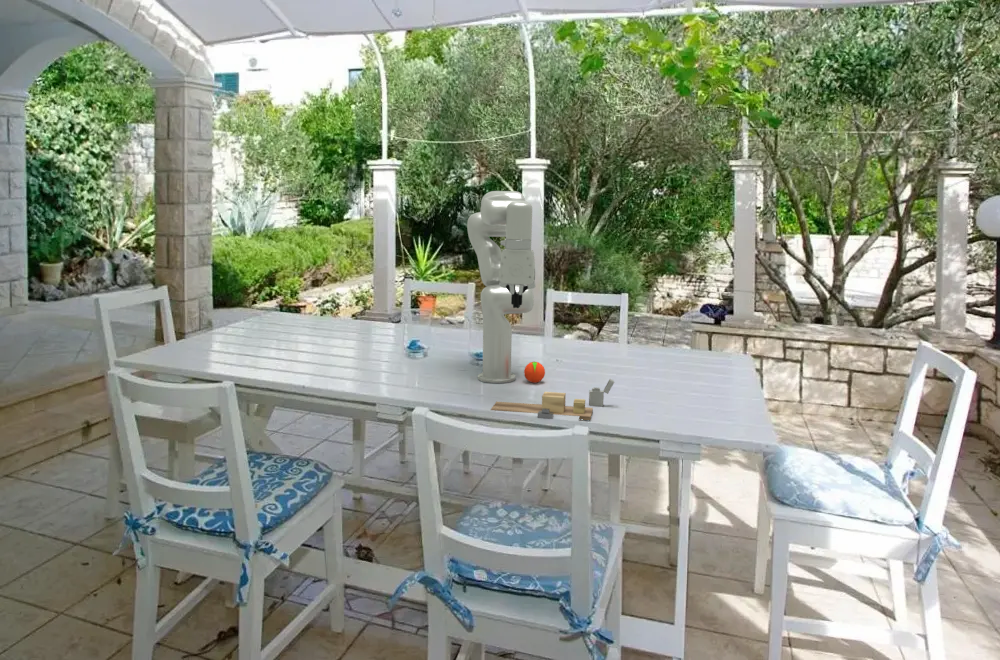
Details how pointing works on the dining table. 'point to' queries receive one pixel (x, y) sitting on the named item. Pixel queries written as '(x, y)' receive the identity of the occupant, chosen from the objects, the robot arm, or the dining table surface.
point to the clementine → (534, 372)
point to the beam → (574, 410)
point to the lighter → (599, 394)
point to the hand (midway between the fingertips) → (516, 307)
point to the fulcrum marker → (545, 414)
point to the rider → (554, 401)
